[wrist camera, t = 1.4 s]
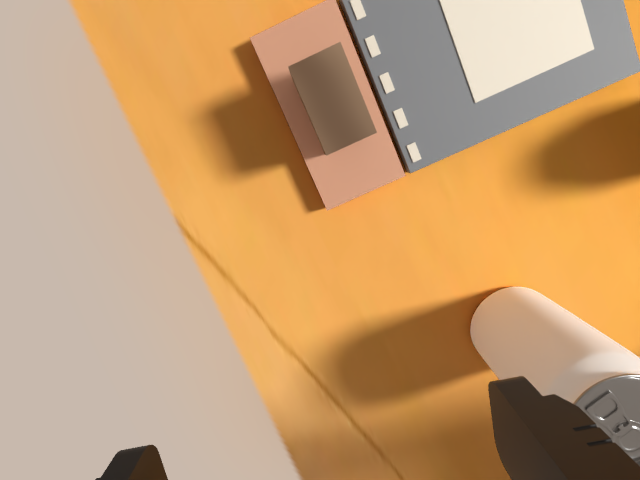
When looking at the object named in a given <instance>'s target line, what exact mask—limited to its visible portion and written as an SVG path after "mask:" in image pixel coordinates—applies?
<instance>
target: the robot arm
mask: <svg viewBox="0 0 640 480" xmlns="http://www.w3.org/2000/svg"><path fill="white" fill-rule="evenodd" d="M489 398H490V406H491V414H492V421H493V429H494V437H495V443H496V447H497V450H498V453H499V456H500V459H501V461H502V463H503V465H504V467H505V469H506V471H507V473H508V474H509V476H510V478H511V479H512V480H640V466H639V465H638V464H637V463H636V462H635V461H634V460H633V459H632V458H631V457H630V456H629V455H628V454H626V453H625V452H624V451H623V450H622V449H621V448H620V447H619V446H618V445H617V444H616V443H615V442H614V443H613V442H612V440H611V438H610V437H609V436H608V435H607V434H606V433H605V432H604V431H603V430H602V429H601V428H600V427H597V426H596V423H595V422H594V421H593V420H592V419H591V418H590V417H589V416H588V415H587V414H586V413H585V412H583V411H582V410H581V409H580V408H579V407H578V406H576V405H574V404H573V403H571V402H569V401H567V400H565V399H563V398H561V397H559V396H557V395H555V394H552V395H546V396H542V395H541V394H540V393H539V392H538V390H537V389H536V388H535V387H534V386H533V385H532V384H531V383H530V382H529V381H528V380H527V379H526V378H525V377H524V376H518V377H513V378H508V379H502V380H497V381H492V382H490V383H489ZM96 480H168V479H167V476H166V473H165V470H164V467H163V464H162V461H161V458H160V455H159V452H158V450H157V448H156V447H155V446H154V445H148V446H142V447H137V448H132V449H126V450H121V451H119V452H118V453H117V454H116V455H115V457H114V458H113V460H112V461H111V463H110V464H109V466H108V467H107V469H106V470H105V472H104V474H103V475H102V476H101V478H97V479H96Z"/></svg>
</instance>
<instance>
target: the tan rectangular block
mask: <svg viewBox="0 0 640 480" xmlns="http://www.w3.org/2000/svg"><path fill="white" fill-rule="evenodd" d="M250 39H251V42H252V44H253V46H254V48H255V51H256V53H257V55H258V57H259V60H260V62H261V64H262V66H263V68H264V71H265V73H266V75H267V77H268V80H269V82H270V84H271V86H272V89H273V91H274V93H275V95H276V98H277V100H278V102H279V104H280V106H281V109H282V111H283V113H284V115H285V118H286V120H287V122H288V124H289V127H290V129H291V131H292V133H293V136H294V138H295V140H296V142H297V145H298V147H299V149H300V151H301V153H302V156H303V158H304V160H305V162H306V165H307V167H308V169H309V171H310V174H311V176H312V178H313V180H314V183H315V185H316V187H317V189H318V191H319V194H320V196H321V198H322V200H323V203H324V205H325V207H326V209H327V210H330V209H332V208H334V207H336V206H339V205H341V204H343V203H345V202H348V201H350V200H352V199H354V198H357V197H359V196H361V195H363V194H366V193H368V192H370V191H372V190H375V189H377V188H379V187H381V186H384V185H386V184H388V183H390V182H393V181H395V180H397V179H399V178H402V177H404V176H406V175H405V173H404V170H403V168H402V165H401V163H400V160H399V158H398V155H397V153H396V150H395V148H394V145H393V143H392V140H391V138H390V135H389V133H388V130H387V128H386V125H385V123H384V120H383V118H382V115H381V113H380V110H379V108H378V105H377V103H376V100H375V97H374V95H373V92H372V90H371V87H370V85H369V82H368V80H367V77H366V75H365V72H364V70H363V67H362V65H361V62H360V60H359V57H358V55H357V52H356V50H355V47H354V45H353V42H352V40H351V37H350V35H349V32H348V30H347V27H346V25H345V22H344V20H343V17H342V15H341V12H340V10H339V7H338V5H337V2H336V0H326V1H324V2H322V3H320V4H318V5H316V6H314V7H312V8H310V9H308V10H306V11H304V12H301V13H299V14H297V15H295V16H293V17H291V18H289V19H287V20H285V21H283V22H281V23H279V24H277V25H275V26H273V27H271V28H269V29H267V30H265V31H263V32H261V33H259V34H257V35H255V36H253V37H251V38H250Z"/></svg>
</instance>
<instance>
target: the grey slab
mask: <svg viewBox="0 0 640 480" xmlns="http://www.w3.org/2000/svg"><path fill="white" fill-rule="evenodd" d="M339 2H340V5H341V7H342V10H343V12H344V15H345V17H346V20H347V22H348V25H349V27H350V30H351V32H352V35H353V38H354V40H355V43H356V45H357V48H358V50H359V53H360V55H361V58H362V60H363V63H364V65H365V68H366V70H367V73H368V75H369V78H370V80H371V83H372V85H373V88H374V90H375V93H376V95H377V98H378V101H379V103H380V106H381V108H382V111H383V113H384V116H385V118H386V121H387V123H388V126H389V128H390V131H391V133H392V136H393V138H394V141H395V143H396V146H397V148H398V151H399V153H400V156H401V158H402V161H403V164H404V166H405V169H406V171H407V172H408V173H412V172H414V171H417V170H419V169H421V168H423V167H426V166H428V165H430V164H432V163H435V162H437V161H439V160H441V159H444V158H446V157H448V156H450V155H453V154H455V153H457V152H460V151H462V150H464V149H466V148H469V147H471V146H473V145H475V144H478V143H480V142H482V141H484V140H487V139H489V138H491V137H493V136H496V135H498V134H500V133H502V132H505V131H507V130H509V129H511V128H514V127H516V126H518V125H520V124H523V123H525V122H527V121H529V120H532V119H534V118H536V117H538V116H541V115H543V114H545V113H547V112H550V111H552V110H554V109H556V108H559V107H561V106H563V105H565V104H568V103H570V102H572V101H574V100H577V99H579V98H581V97H583V96H586V95H588V94H590V93H592V92H595V91H597V90H599V89H601V88H604V87H606V86H608V85H610V84H613V83H615V82H617V81H619V80H622V79H624V78H626V77H629V76H631V75H633V74H635V73H638V72H640V62H639V58H638V55H637V51H636V47H635V43H634V39H633V35H632V32H631V28H630V24H629V20H628V16H627V12H626V9H625V5H624V1H623V0H339Z"/></svg>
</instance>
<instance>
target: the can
mask: <svg viewBox="0 0 640 480" xmlns="http://www.w3.org/2000/svg"><path fill="white" fill-rule="evenodd" d="M470 333H471V339H472V342H473V344H474V346H475V348H476V350H477V351H478V353H479V354H480V355H481V357H482V358H483V359H484V361H485V362H486V363H487V364H488V366H489V367H490V368H491V370H492V371H493V372H494V373H495V375H496V376H497V377H498V378H499V380H502V379H508V378H513V377H518V376H524V377H525V378H526V379H527V380H528V381H529V382H530V383H531V384H532V385H533V386H534V387H535V388H536V389H537V390H538V392H539V393H540V394H541V395H542V396H546V395H552V394H555V395H557V396H559V397H561V398H563V399H565V400H567V401H569V402H571V403H573V404H574V405H576V406H578V407H579V408H580V409H581V410H582V411H583V412H585V413H586V414H587V415H588V416H589V417H590V418H591V419H592V420H593V421H594V422H595V423H596V426H597V427H600V428H601V429H602V430H603V431H604V432H605V433H606V434H607V435H608V436H609V437H610V438H611V440H612V442H613V443H614V442H615V443H616V444H617V445H618V446H619V447H620V448H621V449H622V450H623V451H624V452H625V453H626V454H628V455H629V456H630V457H631V458H632V459H633V460H634V461H635V462H636V463H637V464H638V465H639V466H640V358H639V357H638V356H636V355H635V354H633V353H632V352H630V351H629V350H627V349H626V348H624V347H623V346H621V345H620V344H618V343H617V342H615V341H614V340H612V339H611V338H609V337H608V336H606V335H604V334H603V333H601V332H600V331H598V330H597V329H595V328H594V327H592V326H591V325H589V324H587V323H586V322H584V321H583V320H581V319H580V318H578V317H577V316H575V315H574V314H572V313H570V312H569V311H567V310H566V309H564V308H563V307H561V306H560V305H558V304H556V303H555V302H553V301H552V300H550V299H549V298H547V297H545V296H544V295H542V294H540V293H539V292H537V291H535V290H532V289H530V288H526V287H508V288H504V289H501V290H498V291H496V292H494V293H492V294H491V295H489V296H488V297H487V298H486V299H484V300H483V301H482V302H481V304H480V305H479V306H478V308H477V309H476V311H475V313H474V315H473V318H472V321H471V327H470Z"/></svg>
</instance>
